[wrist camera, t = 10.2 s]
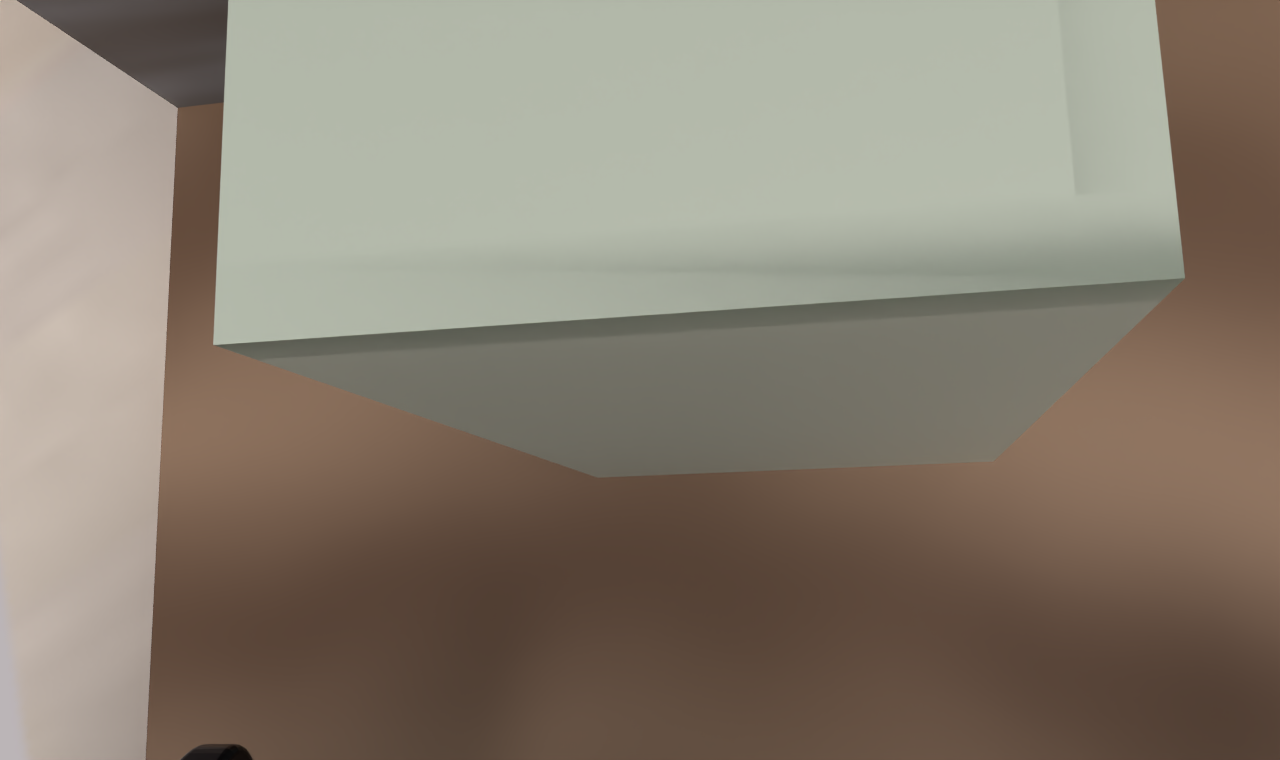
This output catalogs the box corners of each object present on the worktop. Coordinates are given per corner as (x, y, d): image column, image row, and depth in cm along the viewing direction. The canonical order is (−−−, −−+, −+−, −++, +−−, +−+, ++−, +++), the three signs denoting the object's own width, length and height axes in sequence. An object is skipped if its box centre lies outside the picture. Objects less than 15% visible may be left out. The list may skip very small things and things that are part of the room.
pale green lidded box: (993, 461, 16) (1184, 278, 6) (597, 477, 17) (212, 344, 7) (964, 78, 17) (1087, -615, 7) (591, 117, 18) (247, -435, 8)
